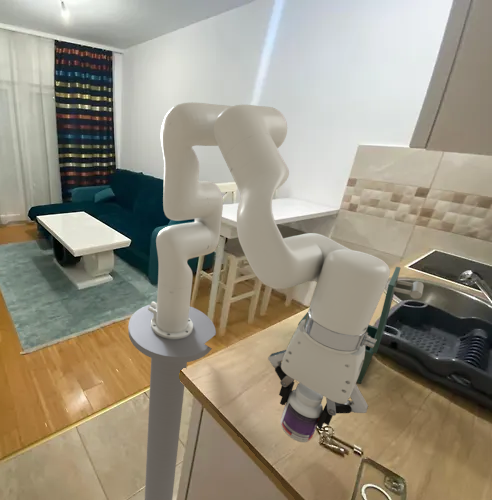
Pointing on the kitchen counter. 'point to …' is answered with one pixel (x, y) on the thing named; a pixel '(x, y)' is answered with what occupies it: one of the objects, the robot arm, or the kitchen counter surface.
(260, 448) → the kitchen counter surface
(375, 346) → the box lid
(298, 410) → the pill bottle
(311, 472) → the kitchen counter surface
